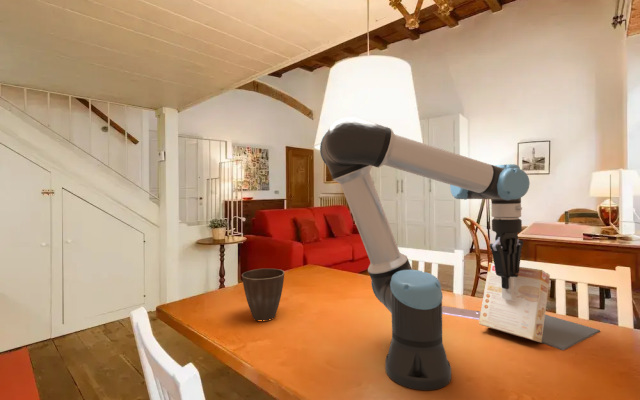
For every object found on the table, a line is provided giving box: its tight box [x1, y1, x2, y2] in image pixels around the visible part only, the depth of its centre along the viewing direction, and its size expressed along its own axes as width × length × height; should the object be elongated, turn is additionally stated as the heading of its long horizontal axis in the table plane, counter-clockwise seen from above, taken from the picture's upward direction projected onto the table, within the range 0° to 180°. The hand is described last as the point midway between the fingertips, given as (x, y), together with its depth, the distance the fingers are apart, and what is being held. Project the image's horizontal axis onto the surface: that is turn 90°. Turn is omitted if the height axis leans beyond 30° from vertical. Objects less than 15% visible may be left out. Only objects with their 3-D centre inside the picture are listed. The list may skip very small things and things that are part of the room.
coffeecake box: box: [478, 262, 551, 344], centre depth 98 cm, size 15×7×20 cm, turn 38°
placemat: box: [541, 314, 601, 351], centre depth 103 cm, size 22×22×1 cm
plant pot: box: [241, 268, 285, 321], centre depth 116 cm, size 15×15×16 cm
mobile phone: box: [442, 305, 481, 321], centre depth 116 cm, size 8×1×15 cm
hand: (508, 298), depth 96 cm, fingers closed
